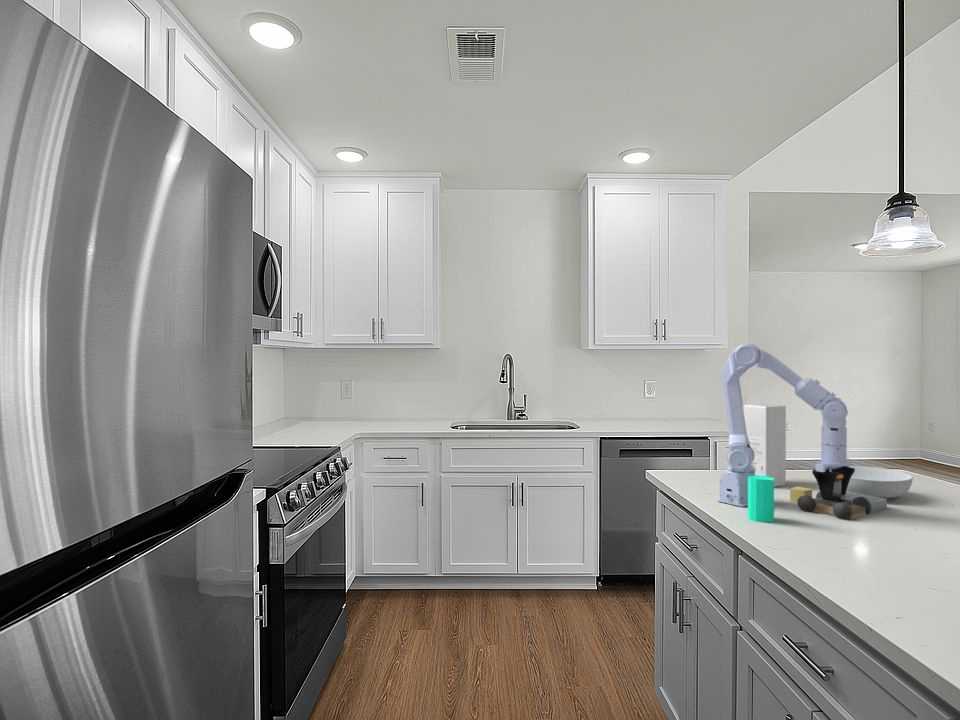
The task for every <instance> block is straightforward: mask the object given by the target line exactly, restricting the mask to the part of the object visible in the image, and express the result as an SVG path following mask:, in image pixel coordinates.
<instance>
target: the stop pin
mask: <svg viewBox="0 0 960 720" xmlns="http://www.w3.org/2000/svg"><path fill="white" fill-rule="evenodd" d="M831 473H837V472H831ZM837 474H838V475H837V477H836V479H835V482H834V486H833V494H832V498H831V499H826V500H828V501H833V502H838V503H839V502H841V479H843V474H842V473H837Z"/></svg>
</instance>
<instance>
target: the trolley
mask: <svg viewBox="0 0 960 720" xmlns="http://www.w3.org/2000/svg"><path fill="white" fill-rule="evenodd" d="M796 503H797V507H798V508H799V509H800V510H801V511H802V512H805V513H807V512H815V513H818V514H819V513H820V514H824V515H829V516H834V517H836V518H838V519H839V520H847V519H848V520H853V519H855V518H859V517H862V516H866V514H867V513H866V512H868V511H869V510H870V508H871V504H870V502H869V500H868V499H866V498H865V497H857V498H854V499H853V500H849V499H843V498H841V502H839V503H838V502H833V501H828V500H826V498H822V496H821V493H820V491H818V492H817V493H816V495H815V498H813V496H812V497H811V496H809V495H804V496H801V497H799V498H798V500H797V502H796Z"/></svg>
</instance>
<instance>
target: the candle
mask: <svg viewBox="0 0 960 720" xmlns="http://www.w3.org/2000/svg"><path fill="white" fill-rule="evenodd" d="M747 519H748V520H750V521H753V522H757V523H772V522H773V523H774V521H775V487H774V478H770V477H768V476H764V475H754V476H749V477H748V506H747Z"/></svg>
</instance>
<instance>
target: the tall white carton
mask: <svg viewBox="0 0 960 720" xmlns="http://www.w3.org/2000/svg"><path fill="white" fill-rule="evenodd" d="M743 409H744V416H745V423H746V430H747V436H748V439H749V444H750V446H751V448H752V449H753V451H754V454H755V457H754V460H753V462H752V464H751V465H752V466H753V468H755V475H764V476H768V477H770V478H774V488H775V487H782V486H786V476H787V475H786V471H787V470H786V467H787V465H786V462H787V461H786V459H787V458H786V455H787V452H786V451H787V446H786V445H787V444H786V443H787V441H786V439H787V437H786V430H787V428H786V427H787V425H786V423H787V421H786V420H787V419H786V417H787V416H786V414H787V413H786V412H787V411H786V409H787V407H786V405H779V404H768V403H754V404H753V403H752V404H751V403H750V404H748V403H747V404H743Z"/></svg>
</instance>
